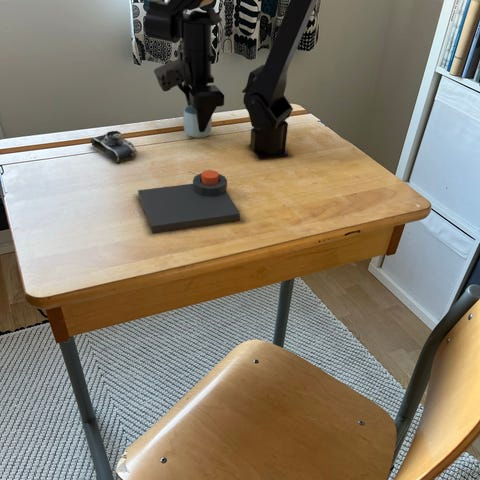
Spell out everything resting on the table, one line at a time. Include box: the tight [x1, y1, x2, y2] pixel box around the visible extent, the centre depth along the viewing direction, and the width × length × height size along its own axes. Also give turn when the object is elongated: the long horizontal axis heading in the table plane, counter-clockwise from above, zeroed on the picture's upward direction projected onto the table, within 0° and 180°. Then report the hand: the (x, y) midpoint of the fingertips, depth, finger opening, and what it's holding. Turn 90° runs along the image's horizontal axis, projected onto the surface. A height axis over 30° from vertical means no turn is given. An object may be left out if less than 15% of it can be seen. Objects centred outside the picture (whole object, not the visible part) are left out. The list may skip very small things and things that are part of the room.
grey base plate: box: [137, 172, 241, 234], centre depth 88 cm, size 16×12×3 cm
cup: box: [182, 105, 213, 139], centre depth 110 cm, size 6×6×5 cm
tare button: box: [201, 169, 220, 185], centre depth 90 cm, size 3×3×2 cm
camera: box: [90, 130, 138, 163], centre depth 102 cm, size 5×10×4 cm, turn 41°
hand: (197, 125), depth 111 cm, fingers closed on cup, 6 cm apart
